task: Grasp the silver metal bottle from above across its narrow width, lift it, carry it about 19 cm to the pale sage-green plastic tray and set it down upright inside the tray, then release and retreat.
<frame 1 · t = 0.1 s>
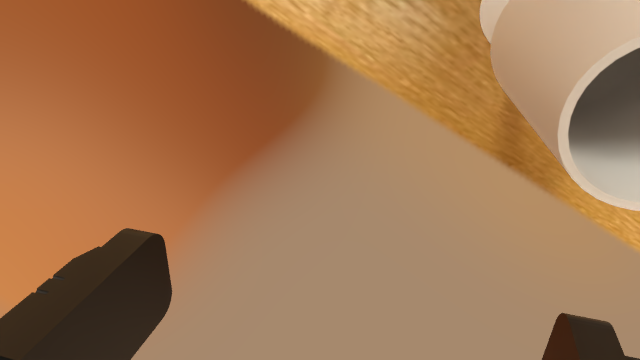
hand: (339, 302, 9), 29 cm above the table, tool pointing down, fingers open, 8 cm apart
champagne flute: (530, 8, 32), on the table
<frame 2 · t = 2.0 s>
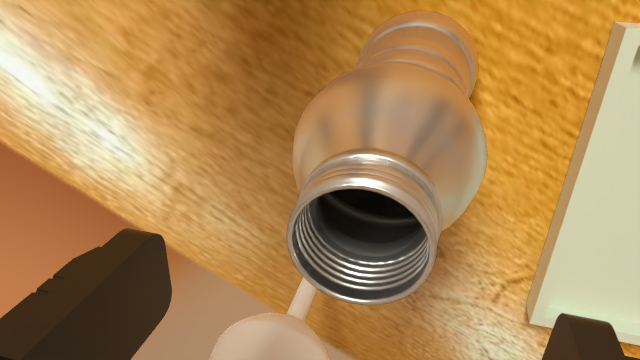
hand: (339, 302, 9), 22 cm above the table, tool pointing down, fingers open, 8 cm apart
silver metal bottle: (418, 60, 28), on the table
champagne flute: (330, 234, 36), on the table
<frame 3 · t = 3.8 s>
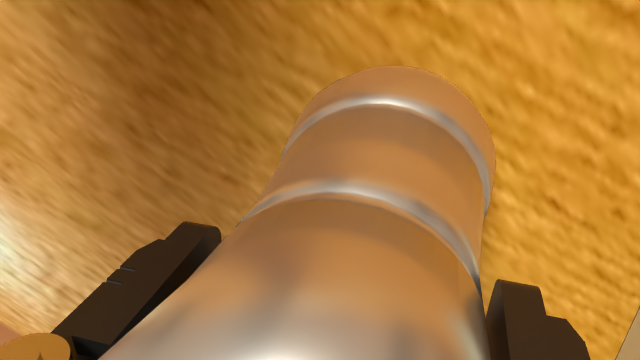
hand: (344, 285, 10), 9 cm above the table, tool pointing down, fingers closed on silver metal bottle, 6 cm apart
silver metal bottle: (394, 136, 17), on the table, touching gripper
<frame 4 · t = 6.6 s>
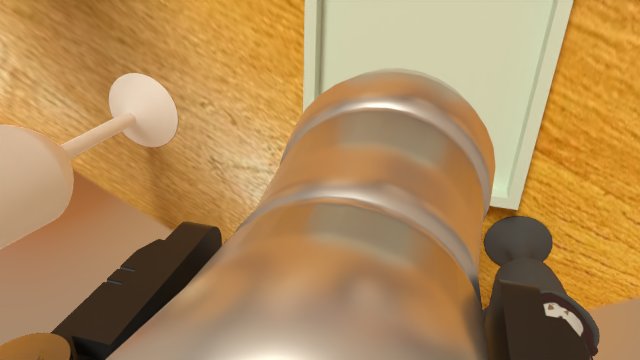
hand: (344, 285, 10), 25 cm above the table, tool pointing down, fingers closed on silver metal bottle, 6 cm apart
silver metal bottle: (394, 139, 17), point 17 cm above the table, touching gripper
champagne flute: (144, 110, 40), on the table
tray: (424, 52, 32), on the table
sundae: (516, 241, 36), on the table
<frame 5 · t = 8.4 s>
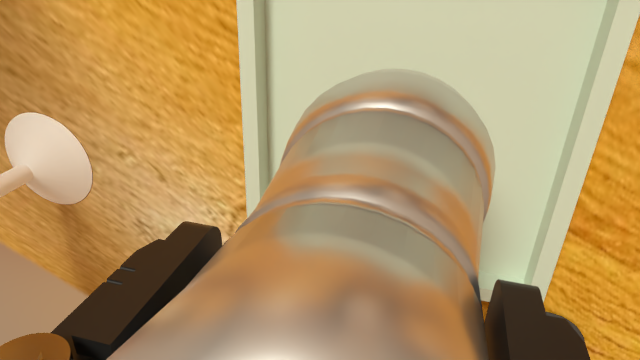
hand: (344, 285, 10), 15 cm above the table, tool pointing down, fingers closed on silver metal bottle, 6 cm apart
silver metal bottle: (394, 139, 17), point 6 cm above the table, touching gripper
champagne flute: (50, 159, 31), on the table
tray: (410, 94, 22), on the table
when the fingers open (10 cm above the table, at t = 9.9 s): silver metal bottle stays where it is, resting on tray.
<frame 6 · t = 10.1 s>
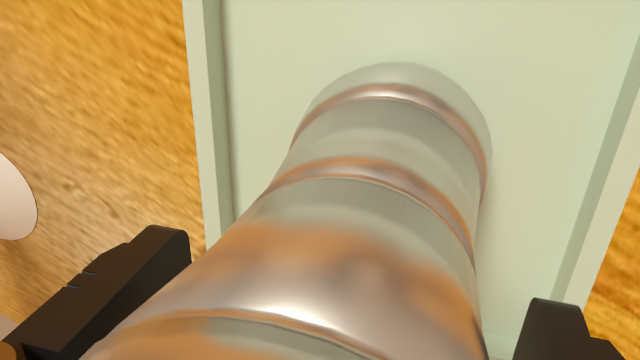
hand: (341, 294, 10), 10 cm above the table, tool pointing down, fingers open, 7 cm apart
silver metal bottle: (397, 130, 18), resting on tray
tray: (398, 126, 19), on the table
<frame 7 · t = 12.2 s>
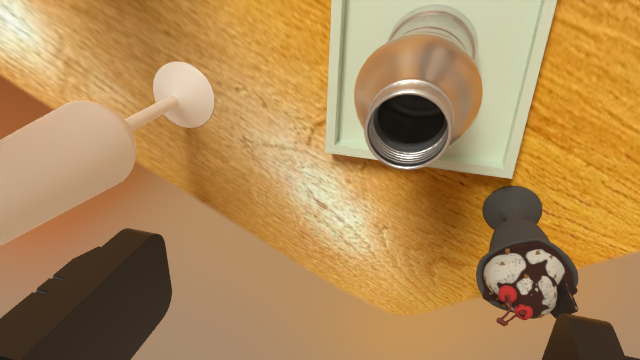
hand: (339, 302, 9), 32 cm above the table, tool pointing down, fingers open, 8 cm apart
silver metal bottle: (432, 43, 37), resting on tray
champagne flute: (184, 95, 45), on the table
tray: (432, 42, 37), on the table
sundae: (511, 209, 42), on the table
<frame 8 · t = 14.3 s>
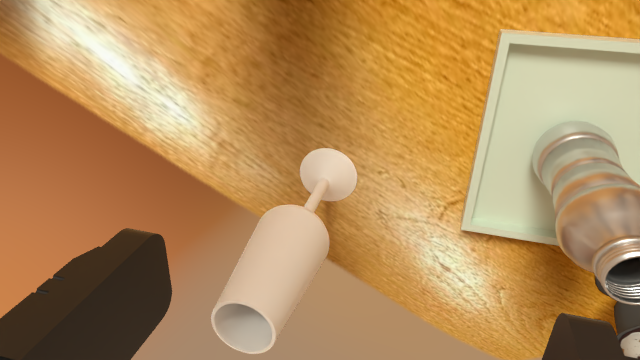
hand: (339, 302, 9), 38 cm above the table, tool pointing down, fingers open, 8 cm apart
silver metal bottle: (566, 146, 44), resting on tray
champagne flute: (328, 174, 52), on the table
tray: (565, 144, 44), on the table
sundae: (620, 277, 49), on the table
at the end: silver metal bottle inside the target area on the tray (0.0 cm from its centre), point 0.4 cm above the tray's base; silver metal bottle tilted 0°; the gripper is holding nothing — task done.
